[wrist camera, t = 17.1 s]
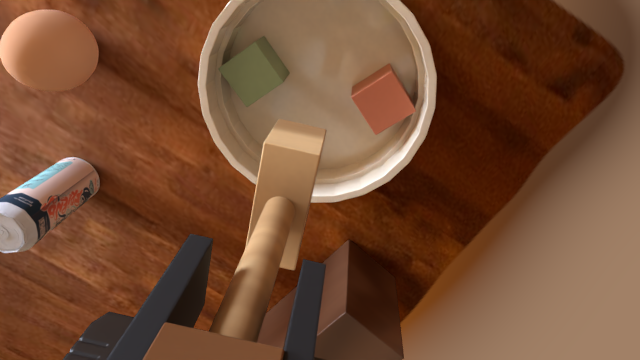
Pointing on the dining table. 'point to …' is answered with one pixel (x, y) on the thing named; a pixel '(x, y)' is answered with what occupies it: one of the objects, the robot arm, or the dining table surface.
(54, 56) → the egg
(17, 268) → the dining table surface
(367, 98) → the terracotta block
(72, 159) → the beer can
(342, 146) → the bowl
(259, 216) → the wooden mallet
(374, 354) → the stand
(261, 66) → the sage block
